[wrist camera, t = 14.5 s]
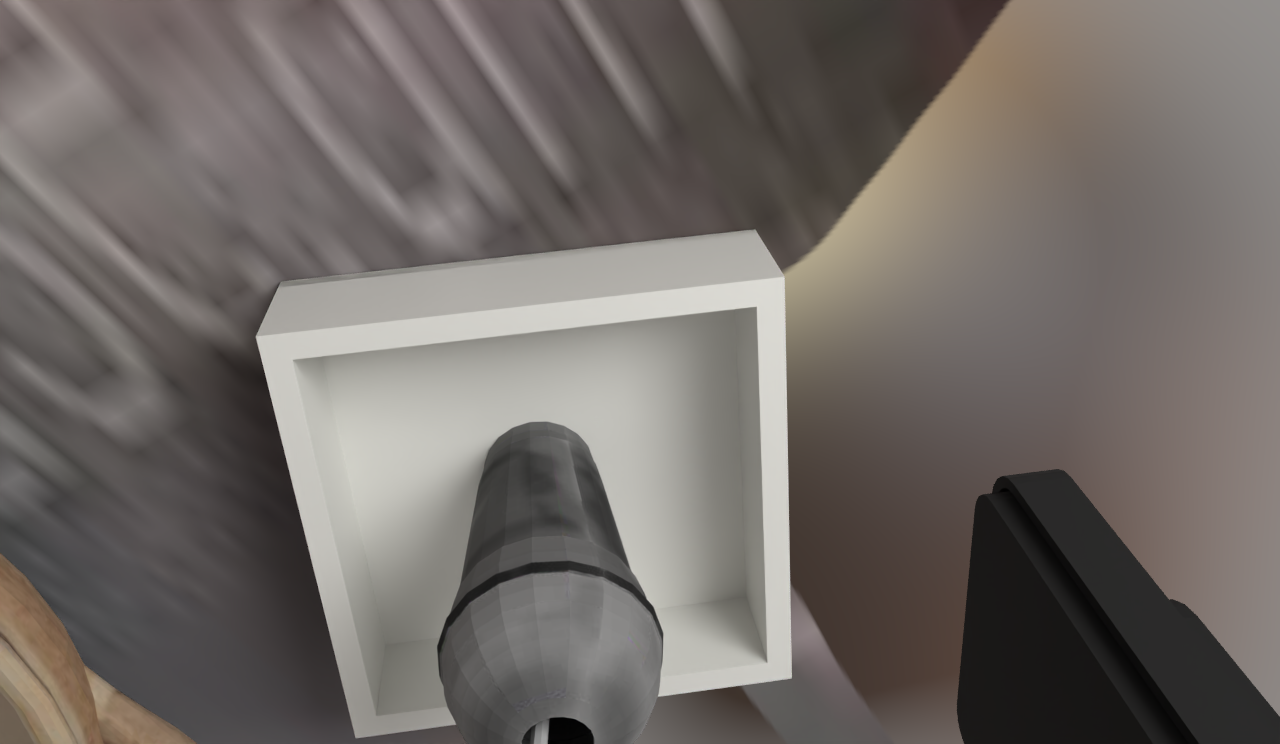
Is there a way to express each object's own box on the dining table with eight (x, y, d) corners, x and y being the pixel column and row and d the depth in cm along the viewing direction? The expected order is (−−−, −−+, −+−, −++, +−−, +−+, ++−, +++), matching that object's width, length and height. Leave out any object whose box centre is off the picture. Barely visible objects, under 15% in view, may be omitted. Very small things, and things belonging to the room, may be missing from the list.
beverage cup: (657, 497, 48) (752, 904, 30) (504, 569, 49) (509, 1008, 31) (577, 360, 45) (632, 725, 27) (415, 440, 45) (363, 847, 28)
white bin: (280, 281, 43) (255, 336, 38) (754, 229, 44) (784, 276, 39) (367, 656, 51) (355, 738, 46) (766, 603, 52) (791, 678, 47)
